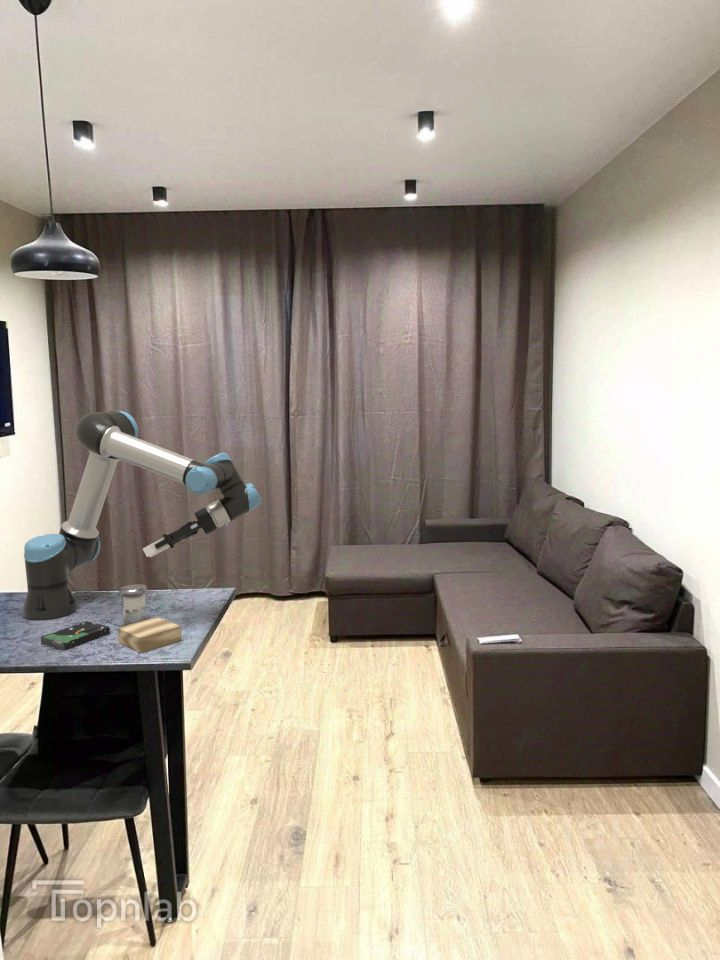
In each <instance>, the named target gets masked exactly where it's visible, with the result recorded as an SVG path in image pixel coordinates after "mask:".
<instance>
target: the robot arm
mask: <svg viewBox="0 0 720 960" xmlns="http://www.w3.org/2000/svg"><path fill="white" fill-rule="evenodd" d="M75 436H76V440H77V442H78V443H79V445H80V446H81V447H82V448H84V449H85V450H87V451H88V453H89V455H88V458H87V462H86V465H85V468H84V470H83V473H82V474H83V475H82V477H81V480H80V483H79V487H78V490H77V492H76V496H75V498H74V502H73V505H72V508H71V512H70V513H69V518H68V520H65V521H64V522H63V523H62V524H61V526H60V529H59V532H58V533H47V534H43V535H39V536H35V537H33V538H31V539H28V541H26V542H25V544H24V549H23V550H24V553H23V558H24V564H25V575H26V576H25V577H26V585H27V592H26V596H25V600H24V602H23V603H24V604H23V608H22V613H23V618H25V619H28V620H34V621H37V620H38V621H39V620H40V621H41V620H43V621H44V620H52V619H58V618H61V617H66V616H68V615H70V614H73V613H74V612H75V611H77V607H78V605H77V601H76V598H75V595H74V594H73V592H72V590H71V587H70V585H69V572H71V571H74V570H77V569H79V568H82V567H84V566H87V565H88V564H91V562H93V561H94V560H95V559H96V558H97V557H98V555H99V554H100V551H101V541H100V540H99V539H100V537H99V535H100V532H99V530H98V529H97V525H98V522H99V519H100V517H101V513H102V510H103V507H104V503H105V501H106V499H107V498H106V497H107V495H108V491H109V488H110V486H111V483H112V480H113V477H114V473H115V470H116V467H117V464H118V462H120V461H123V462H126V463H129V464H131V465H133V466H137V467H139V468H141V469H143V470H147V471H149V472H152V473H154V474H156V475H158V476H159V475H160V476H161V477H164V478H167V479H169V480H172V481H174V482H177V483H180V484H182V485H185V486H186V487H187V488H188V490H189V491H191V493H193V494H197V495H201V494H208V493H210V492H212V491H215V490H217V489H218V491H219V492H220V494H221V495H222V497H221V498H219V499H216V500H215V501H213V502H211V503H209V504H208V505H207V506H206V507H203V508H201V509H199V510H196V511H195V512H194V516H195V518H196V521H195V520H193V521H189V522H187V523H186V524H185V525H183V526H181V527H179V529H177V530H175V531H172V532H170V533H169V534H167V533H163V534H162V538H160V539H158V540H156V541H154V542H152V543H150V544H148V545H146V546H145V547H143V548H142V551H143V552H144V554H145V556H146V558H148V557H149V558H152V557H154V556H156V555H158V554H160V553H161V552H163V551H165V550H167V549H169V548H171V549H174V548H175V545H176V544H177V543H179V542H181V541H183V540H185V539H188V538H190V537H193V536H196V535H197V534H198V532H199V531H200V530H201V529H202V531H203V533H204V534H205V535H210V534H211V533H212V532H215V531H217V529H218V528H222V527H224V525H225V527H228V526H229V523H230V522H233V521H235V520H236V519H238V518H241V517H242V516H243V515H246V514H247V513H249V512H251V511H252V510H254V509H256V508H257V507H259V506H260V505H261V504H262V498H261V495H260V493H259V492H258V489H256V487H255V486H254V484H253V483H251V482H249V483H245V482H244V480H243V479H242V477H241V475H240V473H239V472H238V469H237V468H236V465H235V464H234V461H233V460H232V459H231V457H230V456H229V454H228V453H226V451H225V452H224V451H223V452H220V453H217V454H215V455H214V456H212V457H210V458H208V459H207V460H206V461H205V462H204V463H203V462H200V461H197V460H195V459H192V458H190V457H187V456H185V455H182V454H179V453H177V452H174V451H172V450H169V449H166V448H164V447H162V446H158V445H156V444H154V443H151V442H148V441H146V440H144V439H141V438H138V436H139V426H138V424H137V422H136V420H135V418H134V417H133V416H132V415H130V414H129V413H128V412H125V411H122V410H116V409H115V410H114V409H113V410H109V411H107V410H106V411H94V412H90V413H89V412H88V413H87V414H84V415H83V416H82V417H81V418H80V419H79V420H78V422H77V424H76V426H75ZM217 527H218V528H217Z"/></svg>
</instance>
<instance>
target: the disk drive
mask: <svg viewBox="0 0 720 960" xmlns="http://www.w3.org/2000/svg"><path fill="white" fill-rule="evenodd" d="M110 629H111V627H110V626H109V625H108V626H107V625H103V624H101V623H100V624H99V623H94V624H93V623H92V621H91V622H90V621H83V622H80V623H77V624H73V625H71V626H69V627H66V628H63V629H58V630H56V631H55V632H50V633H47V634H45V635H42V636H40V645H42V644H44V645H43V646H45V645H47V646H46V647H48V646H50V647H49V648H52V647H54V648H53V649H55V648H57V649H56V650H59V649H60V650H59V651H62V650H63V652H65V650H66V651H68V650H71V649H73V648H76V646H77V647H79V646H82V645H84V643H85V644H87V643H89V641H90V642H93V641H95V639H96V640H97V639H100V637H101V638H103V636H104V637H106V636H109V635H110V634H111V630H110ZM108 634H109V635H108ZM92 640H93V641H92ZM81 644H82V645H81Z"/></svg>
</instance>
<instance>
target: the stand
mask: <svg viewBox="0 0 720 960" xmlns="http://www.w3.org/2000/svg"><path fill="white" fill-rule="evenodd" d="M117 640H118V641H117V642H118V643H119V644H122V645H124V646H125V647H128V648H130V649H132V650H134V651H135V652H138V653H141V654H142V653H145V652H146V653H147V652H149V651H151V650H155V649H157V648H158V649H159V648H162V647H164V646H169V645H171V644H175V643H178V642H180V641H182V627H181V625H179V624H177V623H174V622H172V621H168V620H166V619H164V618H162V617H159V616H156V617H152V618H148V619H146V620H144V621H141V622H137V623H134V624H130V625H127V626H124V625H123V626H120V627H117Z"/></svg>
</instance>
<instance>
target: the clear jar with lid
mask: <svg viewBox="0 0 720 960" xmlns="http://www.w3.org/2000/svg"><path fill="white" fill-rule="evenodd" d="M147 591H148V590H147V585H146V584H138V583H137V584H136V583H135V584H134V583H133V584H128V585H125V586H121V587H120V588H119V589H118V592H119V595H120V596H121V603H122V606H121V607H122V617H123V618H122V619H123V626H127V625H130V624H134V623H137V622H141V621H144V620H147V606H146V594H145V593H147Z"/></svg>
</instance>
